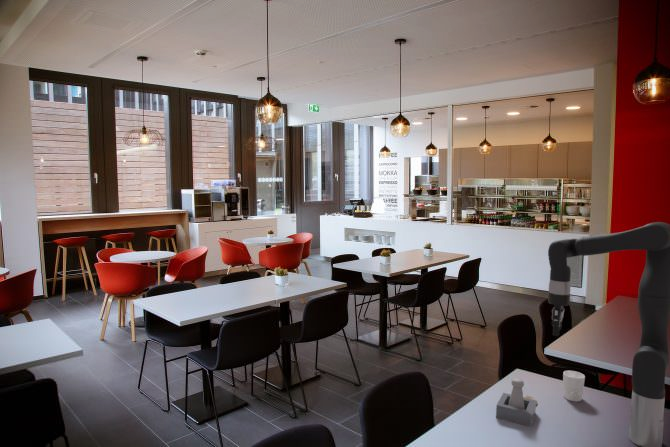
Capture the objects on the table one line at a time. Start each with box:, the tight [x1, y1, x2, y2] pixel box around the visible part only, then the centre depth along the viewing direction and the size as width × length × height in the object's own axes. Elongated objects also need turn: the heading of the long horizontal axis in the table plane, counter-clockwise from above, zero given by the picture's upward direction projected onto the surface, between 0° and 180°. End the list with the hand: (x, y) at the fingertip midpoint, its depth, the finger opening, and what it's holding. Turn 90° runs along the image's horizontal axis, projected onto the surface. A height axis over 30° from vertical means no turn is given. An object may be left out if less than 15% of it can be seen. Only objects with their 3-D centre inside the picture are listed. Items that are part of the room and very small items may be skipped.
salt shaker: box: [508, 378, 525, 410], centre depth 178 cm, size 6×6×13 cm
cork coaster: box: [523, 394, 538, 406], centre depth 190 cm, size 9×9×1 cm
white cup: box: [562, 370, 586, 403], centre depth 193 cm, size 8×8×10 cm
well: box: [495, 392, 537, 427], centre depth 178 cm, size 12×12×5 cm
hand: (556, 332), depth 183 cm, fingers open, 8 cm apart
